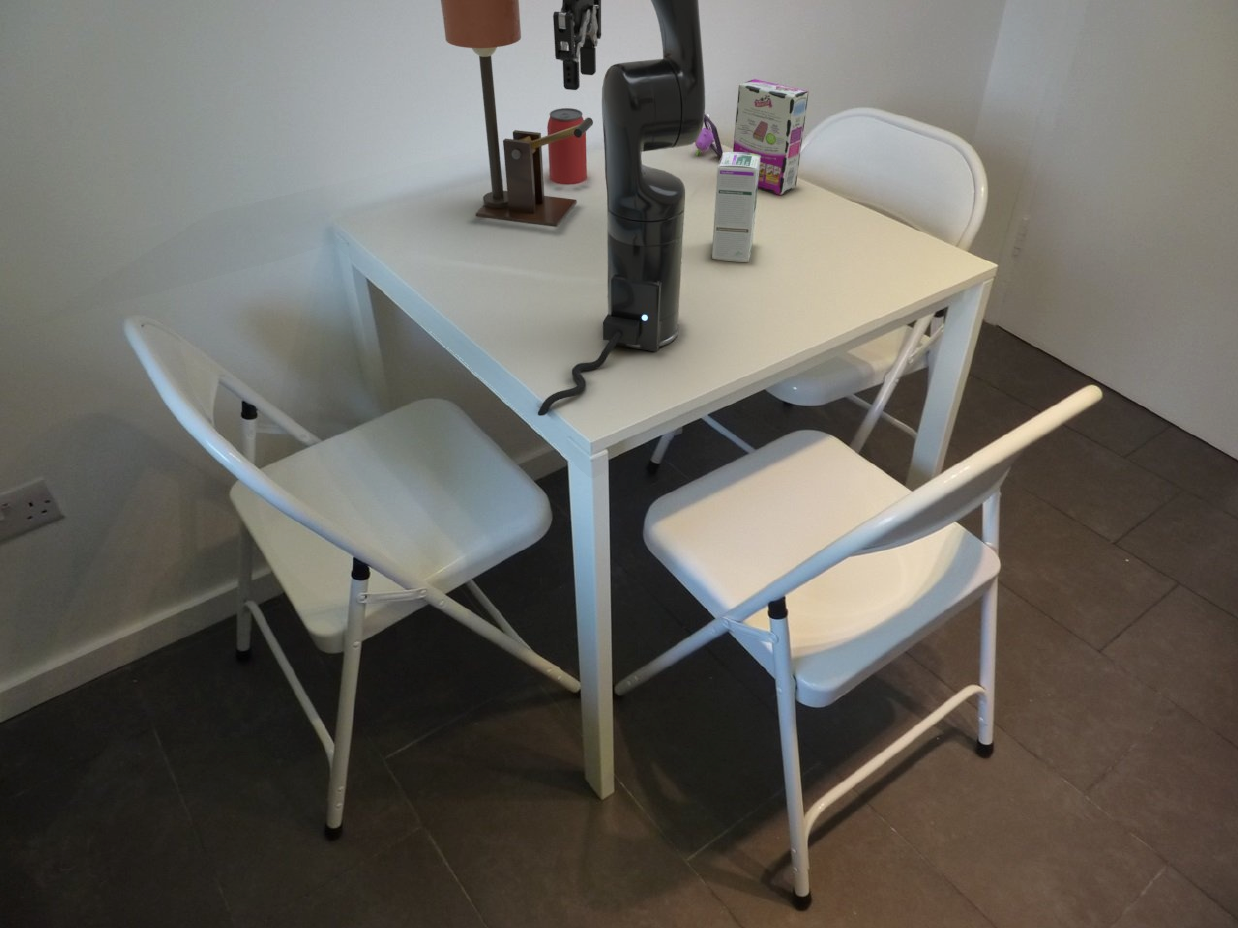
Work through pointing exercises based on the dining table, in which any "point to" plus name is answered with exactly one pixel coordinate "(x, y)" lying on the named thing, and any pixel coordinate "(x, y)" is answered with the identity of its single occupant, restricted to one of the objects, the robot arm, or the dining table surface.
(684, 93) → the robot arm
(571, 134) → the switch
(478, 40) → the lamp
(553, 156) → the beer can
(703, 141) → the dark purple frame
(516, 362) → the dining table surface
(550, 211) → the lamp base
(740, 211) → the syrup box
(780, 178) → the candy bar box
